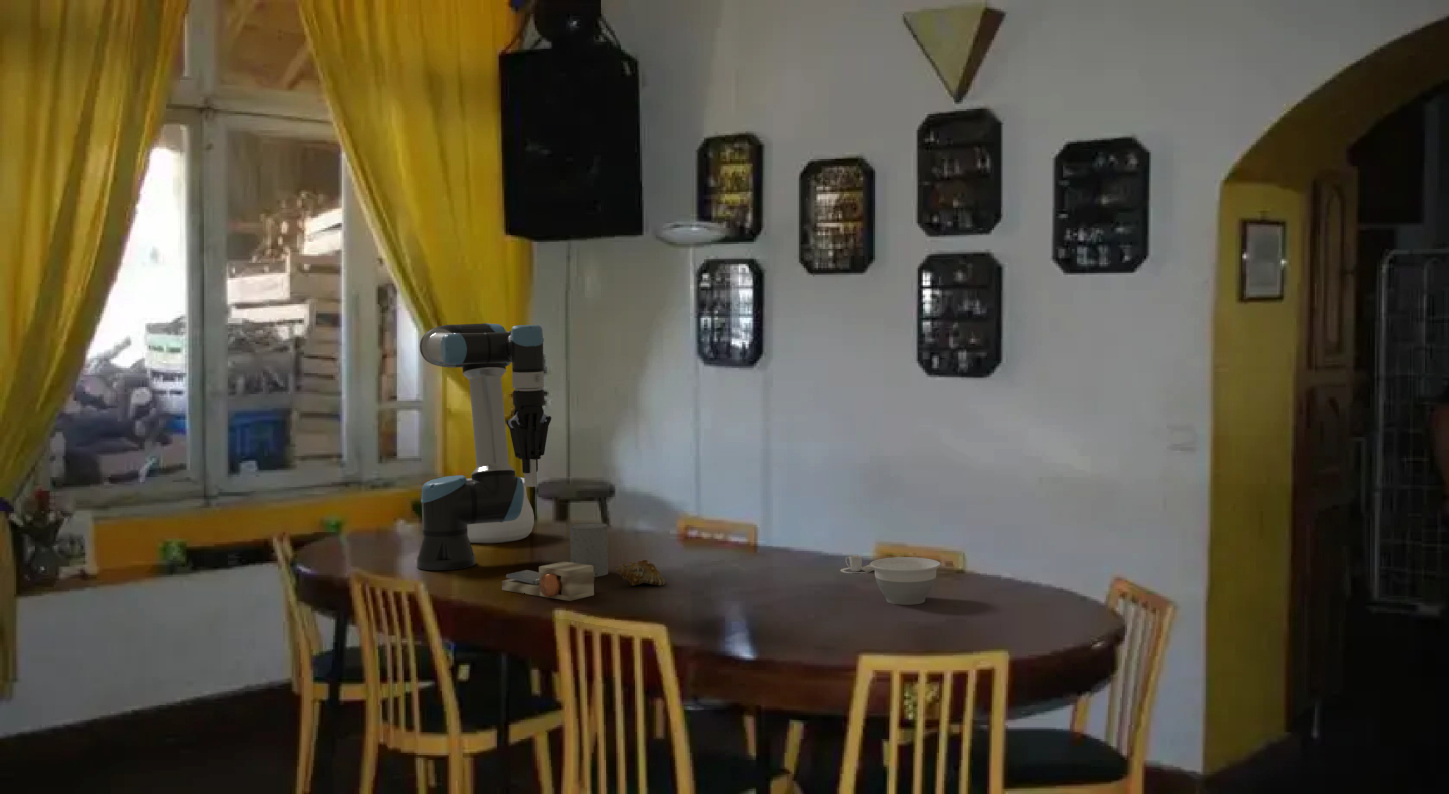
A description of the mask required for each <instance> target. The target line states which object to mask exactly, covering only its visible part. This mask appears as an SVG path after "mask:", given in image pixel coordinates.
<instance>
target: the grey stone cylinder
mask: <svg viewBox="0 0 1449 794" xmlns="http://www.w3.org/2000/svg"><path fill="white" fill-rule="evenodd" d="M568 528H569V543H570V545H569V546H570V547H569V548H570V549H569V550H570V551H569V553H570V562H571V563H578V564H585V565H592V566H593V572H594V574H595V578H597V577H603V576H606V575H609V562H608V559H609V558H608V557H609V556H608V530H607V529H608V524H606V523H604V522H603V523H601V522H582V523H581V522H580V523H573V524H571V525H569V526H568Z"/></svg>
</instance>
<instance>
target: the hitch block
mask: <svg viewBox="0 0 1449 794" xmlns="http://www.w3.org/2000/svg"><path fill="white" fill-rule="evenodd" d="M538 572H539V584H538V585H534V584H531V583H527V582H523V581H518V580H514V579H510V578H508V579H505V580H501V589H502V591H506V592H510V593H511V592H513V593H518V594H524V593H525V595H531V596H538V597H543V598H549V599H555V600H562V601H569V602H571V601H575V600H579V599H584V598H587V597H592V596H595V585H594V583H595V581H594V574H593V566H592V565H585V564H578V563H571V561H570V562H569V561H559V562H554V563H549V564H545V565H540V566H538ZM548 574H556V575H557V576H561V584H562V588H561V592H560V593H559V594H558V595H556V596H552V597H546V596H544V595H543V593H542V592H541V589H540V580H541V578H542V577H543V576H544V575H548Z"/></svg>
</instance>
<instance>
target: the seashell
mask: <svg viewBox="0 0 1449 794" xmlns="http://www.w3.org/2000/svg"><path fill="white" fill-rule="evenodd" d="M615 572H616V573H618V575H620V576H621V577H622V579H623V580H624V581H628V582H629V584H630V586H632V587H633V586H639V585H641V584H649V585H653V586H664V585H665V583H666V580H665V578H664V577H663V576H662V575H661V573H660V571H659V570H658V568H657V566H656V565H655V564H654V563H652V562H651V561H648V560H647V559H642V560H639V561H638V562H637V563H636V562H634V561H633V562H632V561H630V562H628V563H623V564H619V565H617V566H616V568H615Z"/></svg>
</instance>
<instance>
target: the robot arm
mask: <svg viewBox="0 0 1449 794" xmlns="http://www.w3.org/2000/svg"><path fill="white" fill-rule="evenodd" d="M544 341H545V339H544V332H543V328H542V326H541V325H537V324H536V325H535V324H519V325H518V324H517V325H513V326H512V327H511V330H510V331H509V330H508V331H507V330H506V328H505V327H504V326H502V325H501V324H499V323H488V322H485V323H465V324H445V325H444V324H443V325H439V326H436V327H433V328H431V329H430V330H427V332H425V334H423V335H422V337H421V339H420V342H419V351H420V354H421V356H422V358H423V359H424V360H425V361H426V362H427V363H429V364H431V365H434V366H436V367H442V368H455V369H456V368H462V375H463V376H464V377H465V378H466V379H467V380H468V382H469V394H470V403H471V404H470V405H471V418H472V427H473V428H472V429H473V430H472V431H473V441H474V452H475V465H476V468H475V469H474V470H473V472H471V478H472V480H470V481H467V479H468V478H466V476H465V475H462V474H460V475H459V474H458V475H448V476H447V475H446V476H444V477H443V476H442V477H438V478H434V479H431V480H428V481H426V482H424V484H423V485H422V487H421V499H420V502H421V515H422V516H421V517H422V518H421V519H422V540H421V543H420V548H419V552H418V556H417V558H416V567H417V569H419V570H427V571H450V570H451V571H452V570H453V571H454V570H460V569H467V568H471V567H473V566H474V565H476V556H475V553H474V550H473V546H472V543H470V541H469V538H468V531H467V526H468V524H480V523H493V522H500V523H502V522H505V521H512V520H515V519H517V518H518V517H519V515H520V513H521V510H522V506H523V499H524V486H526V487H530V488H533V487H534V488H535V487H537V485H538V484H537V472H538V470H539V466H538V465H539V464H538V462H539V461H538V460H541V459H542V456H544V455H545V451H546V445H547V438H548V433H549V431H548V430H549V426H550V423H551V421H552V416H551V415H547V414H545V410H544V408H543V406H544V404H545V391H544V389H542V388H544V387H545V379H544V377H545V373H544V372H545V371H544ZM510 365H512V367H511V369H512V371H511V374H512V375H511V376H512V384H511V385H512V388H513V389H514V390H513V391H512V404H513V406H514V412H513V417H511V419H507V420H506V418H505V407H504V406H505V405H504V398H503V397H504V395H503V385H502V377H503V376H504V374H505V373H506V372H507V368H506V367H507V366H510ZM506 425H507V427H508V429H509V435H510V439H511V442H512V446H513V452H514V453H513V454H514V457H515V458H517V459H519V460H521V464H522V473H523V478H524V486H523V481H522V479H521V478H522V477H520V476H516V470H515V469H514V468H513V467H512V466H511V465H510V464H509V454H508V453H509V452H508V442H507V441H508V439H507V430H506V428H507V427H506Z"/></svg>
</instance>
